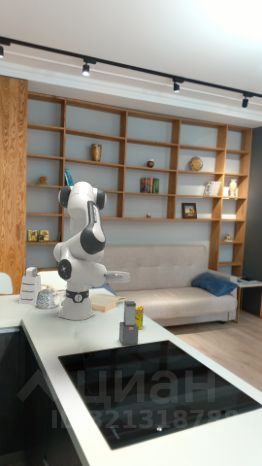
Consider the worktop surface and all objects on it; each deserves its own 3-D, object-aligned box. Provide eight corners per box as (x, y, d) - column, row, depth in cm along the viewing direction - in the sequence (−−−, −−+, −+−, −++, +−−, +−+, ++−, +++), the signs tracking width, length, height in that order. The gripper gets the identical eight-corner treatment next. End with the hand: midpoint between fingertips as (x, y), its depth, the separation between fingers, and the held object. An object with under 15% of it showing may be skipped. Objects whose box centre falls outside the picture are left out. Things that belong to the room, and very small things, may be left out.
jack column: (122, 340, 151) (124, 301, 150) (131, 340, 152) (133, 301, 151) (124, 344, 147) (126, 303, 146) (134, 344, 148) (136, 303, 147)
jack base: (109, 340, 154) (110, 320, 153) (140, 339, 157) (141, 319, 157) (114, 351, 142) (115, 329, 142) (147, 350, 146) (149, 328, 145)
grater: (18, 303, 203) (19, 268, 201) (26, 298, 213) (27, 266, 212) (35, 305, 201) (36, 270, 200) (42, 300, 212) (44, 267, 210)
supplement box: (140, 332, 166) (141, 309, 165) (128, 331, 167) (129, 308, 166) (142, 328, 171) (143, 306, 171) (130, 327, 173) (131, 305, 172)
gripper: (117, 266, 128) (140, 271, 138) (78, 266, 140) (102, 271, 151) (115, 284, 126) (138, 287, 137) (76, 282, 139) (100, 286, 150)
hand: (119, 279), depth 144 cm, fingers open, 8 cm apart
